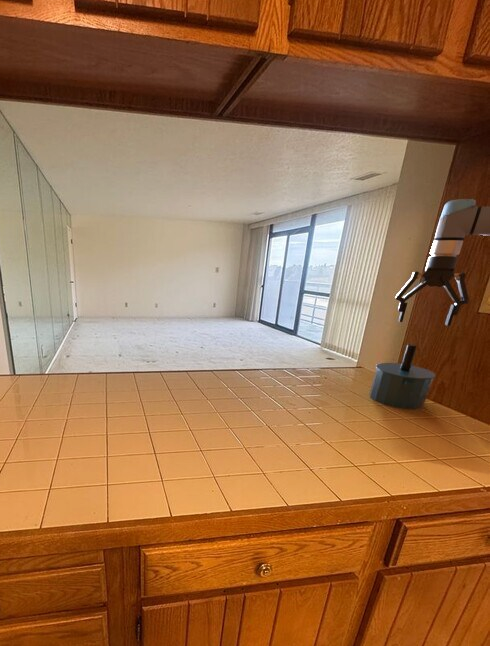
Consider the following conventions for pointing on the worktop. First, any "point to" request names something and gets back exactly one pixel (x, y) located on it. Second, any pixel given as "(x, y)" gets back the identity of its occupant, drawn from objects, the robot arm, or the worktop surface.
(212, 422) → the worktop surface
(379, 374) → the pot
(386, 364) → the pot lid
